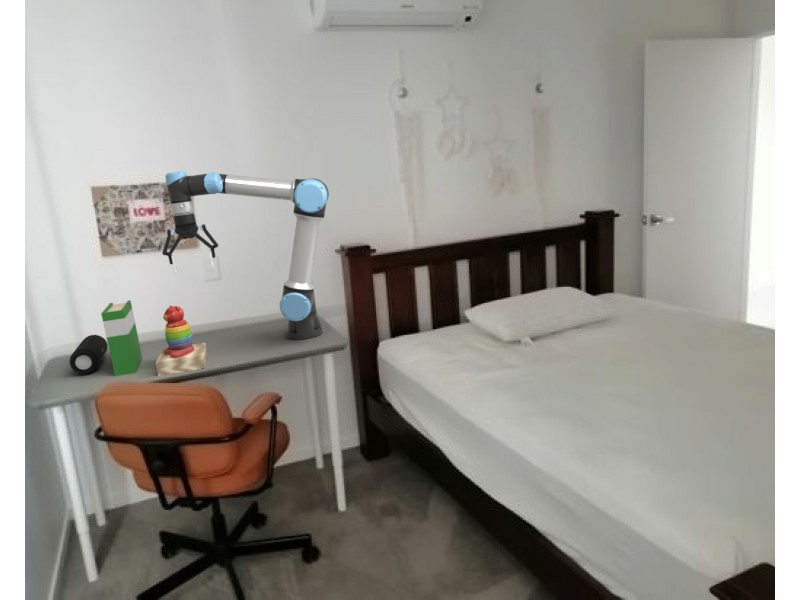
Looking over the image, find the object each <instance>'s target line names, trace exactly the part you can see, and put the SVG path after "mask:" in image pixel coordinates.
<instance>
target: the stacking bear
mask: <svg viewBox="0 0 800 600" xmlns="http://www.w3.org/2000/svg"><path fill="white" fill-rule="evenodd" d="M184 312H185V311H184V310H183V308H182V307H180V306H178V305H169V307H167V309H166V310H165V312H164V314H163V316H162V318H163V320H164V321H165V322H166V324H165V329H164V330H165V331H164V332H165V340H166V344H167V345H168V347H167V348H164V349H165V350H164V354H166V355H170V357H172V358H177V357H181V356H184V355H187V354H189V353H191V352H193V351H194V347H193V332H192V329H191V327H190V324H189V322H187V320H186V319H184V318H185V317H184V316H185V313H184Z"/></svg>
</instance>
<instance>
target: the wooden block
mask: <svg viewBox="0 0 800 600" xmlns="http://www.w3.org/2000/svg"><path fill="white" fill-rule="evenodd" d="M192 345H193V347H194V351H193V352H191V353H189V354H187V355H184V356H181V357H177V358H172V357H170V355H166V354H164V350H165V349H166V348H162V350H160V353H159V356H158V358H157V360H156V361H155V366H156V372H157V377H160V375H161V376H167V375H174V374H179V373H185V371H186V372H191V370H192V371H197V369H199V370H203V369H202V368H204V367H205V366H206V364H205V362H206V363H207V359H206V358H208V355H207V354H208V349H207V344H206V342H201V343H194V344H193V343H192ZM204 369H205V368H204ZM173 373H174V374H173ZM166 374H167V375H166Z"/></svg>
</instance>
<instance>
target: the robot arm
mask: <svg viewBox="0 0 800 600" xmlns="http://www.w3.org/2000/svg"><path fill="white" fill-rule="evenodd" d="M164 177H165V183H166V188H167V193H168V197H169V201H170V203H169V204H170V208H171V212H172V215H173V222H174V226H175V229H173V228H168V229H167V231H166V232H167V233H166V234H167V235H166V240H165V243H164V246H163V250H162V255H163V256H167V257H168V261H169V264H170V265H173V270H174V271H173V272H174V273H175V274H177V273H178V267H177V262H176V258H175V254H173V253H174V251H175V249H176V248H177V246H178V244H179V243H180V241H181V239H182V240H187V239H193V238H196V239H197V240H199V241H200V242H201V243H202V244H204V246H206V247H208V249H209V250H208V251H209V252H208V253H209V258H210V261H211V262H210V263H211V267H212V268H215V262H214V259H215V258H216V253H215V250H216V248H219V243H218V242H217V241H216V240H215V238H214V237H213V236H212V235H211V233H210V232H209V231H208V229H207V226H206V224H205V223H202V224H200V225H198V224H197V222H196V216H195V213H193V212H194V206H193V205H194V204H193V201H192V197H195V196H196V197H198V196H206V195H216V194H223V195H236V196H242V197H243V196H244V197H253V198H262V199H263V198H264V199H273V200H282V201H286V200H287V201H291V202H292V204H294V206H293V214H294V216H295V217H296V220H295V221H296V222H295V228H294V229H295V230H294V237H293V244H292V252H291V259H290V264H289V265H290V266H289V272H288V273H289V275H288V279H287V280H285V282H284V283H283V287H282V296H281V298H280V302H279V310H280V313H281V315H283V317H284V318H285V319H287V320H288V321H287V326H286V336H287V338H288V339H289V340H290V339H291V340H305V339H306V338H307V339H312V338H315V336H316V337H318V336H320V335H322V334H323V333H324V326H323V324H322V322H321V320H320V318H319V315H318V312H317V306H316V299H315V290H314V289H315V286H314V283H313V280H312V277H313V271H314V270H313V269H314V264H315V263H314V262H315V255H316V249H317V243H318V237H319V235H318V234H319V230H320V229H319V228H320V222H321V221H322V220H324V219H325V216H326V215H325V213H326V207H327V202H328V199H329V192H330V191H329V188H328V187H327V185H326V183H325V182H323V181H322V180H320V179H318V178H307V179H306V178H304V179H302V178H294V179H293V180H287V179H286V180H285V179H277V178H276V179H275V178H264V177H258V176H257V177H256V176H246V175H245V176H244V175H235V174H225V173H219V172H208V173H202V174H195V175H188V174H187V172H186V171H184V170H182V171H172V172H167V173H166V174H165V176H164ZM199 230H201V231H203V233H204V234H205V235H206V237H207V238H208V239H209V240H210V242H211V243H212V244H211V243H210V242H209V241H208V240H206V239H205V238H204V237H203V236H201V235H200V234H199V233H198V231H199ZM174 233H175V234H176V235H177V238H176V240H175V242H174V243H173V245H172V246H171V248H170V250H169V251H168V249H169V245H170V242H171V239H172V236H173V235H174ZM311 337H312V338H311Z"/></svg>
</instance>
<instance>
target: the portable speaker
mask: <svg viewBox="0 0 800 600" xmlns="http://www.w3.org/2000/svg"><path fill="white" fill-rule="evenodd" d="M108 350H109V347H108V342H107V339H105V338H104V337H103V336H101V335H99V334H90V335H87V336H86V337H85V338H83V339H82V341H81V342H80V343H79V345H77V347H76V348H75V349H74V351H73V352H72V353H71V355H70V357H69V366H70V368H71V369H72V370H73V371H74V372H75V373H77V374H79V375H88V373H89V374H91V373H93V372H95V371H96V369H97V368H98V366H99V364H100V362H101V361H102V360H103V358H104V356H105V354H106V353H107V352H108Z"/></svg>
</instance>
